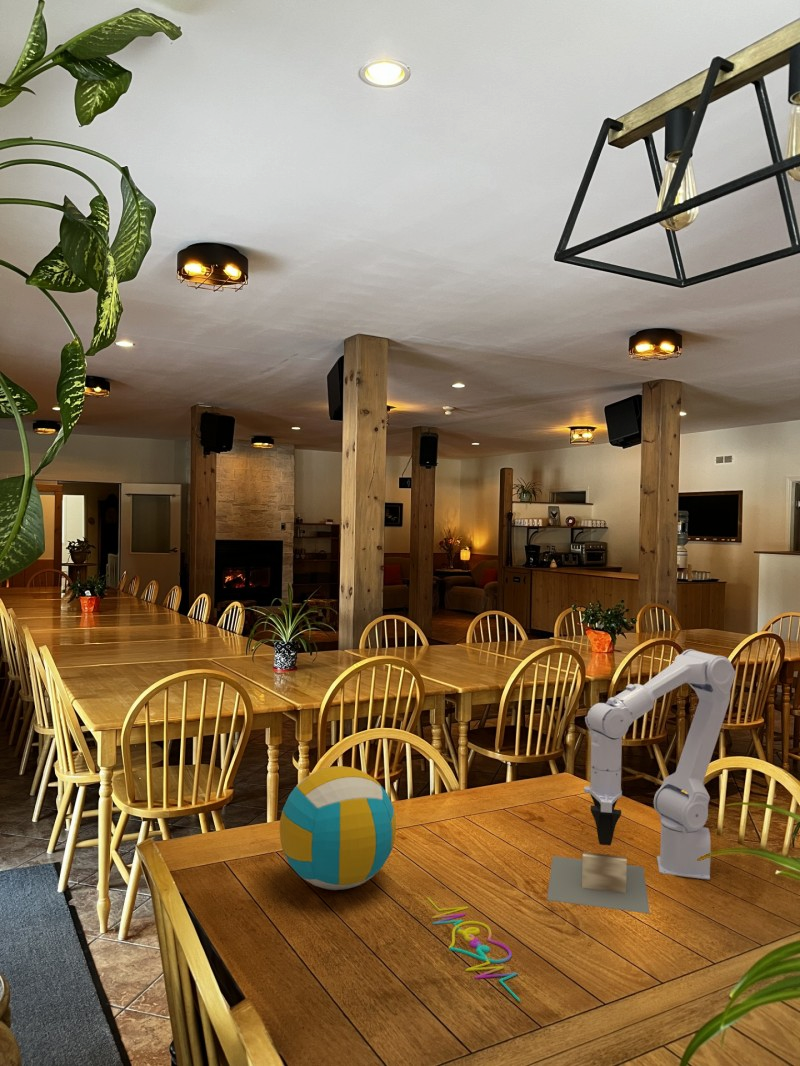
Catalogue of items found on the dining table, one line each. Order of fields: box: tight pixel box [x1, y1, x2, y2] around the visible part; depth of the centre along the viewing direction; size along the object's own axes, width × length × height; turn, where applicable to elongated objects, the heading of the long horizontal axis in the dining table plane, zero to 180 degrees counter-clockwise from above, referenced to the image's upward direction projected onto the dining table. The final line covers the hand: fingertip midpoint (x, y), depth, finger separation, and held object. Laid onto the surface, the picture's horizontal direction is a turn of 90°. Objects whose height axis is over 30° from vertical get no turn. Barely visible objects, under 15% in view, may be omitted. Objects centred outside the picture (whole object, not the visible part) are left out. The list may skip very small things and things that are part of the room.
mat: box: [546, 855, 650, 915], centre depth 154 cm, size 18×20×1 cm
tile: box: [582, 851, 628, 893], centre depth 152 cm, size 8×2×6 cm, turn 76°
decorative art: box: [426, 896, 521, 1003], centre depth 132 cm, size 34×1×10 cm
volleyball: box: [279, 765, 397, 891], centre depth 152 cm, size 22×22×22 cm
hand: (604, 836), depth 155 cm, fingers open, 7 cm apart
